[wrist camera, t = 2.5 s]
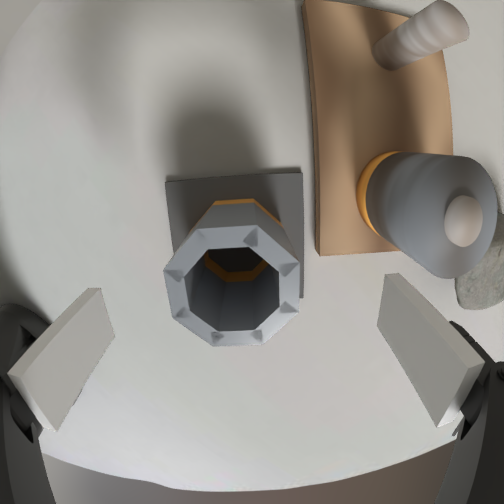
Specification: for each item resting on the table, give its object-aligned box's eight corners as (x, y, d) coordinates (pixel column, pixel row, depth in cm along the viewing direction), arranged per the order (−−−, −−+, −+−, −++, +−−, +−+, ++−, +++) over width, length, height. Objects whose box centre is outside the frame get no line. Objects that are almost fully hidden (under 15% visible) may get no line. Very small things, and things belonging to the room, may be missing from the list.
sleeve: (199, 285, 23) (179, 346, 15) (189, 203, 21) (157, 232, 13) (282, 280, 23) (298, 341, 15) (280, 196, 21) (299, 222, 13)
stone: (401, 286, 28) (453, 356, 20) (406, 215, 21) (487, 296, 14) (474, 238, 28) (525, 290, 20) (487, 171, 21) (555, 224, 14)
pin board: (315, 249, 22) (359, 316, 13) (301, 6, 16) (332, -67, 6) (437, 242, 22) (510, 288, 13) (428, 31, 16) (497, -2, 6)
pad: (183, 302, 24) (182, 304, 23) (166, 182, 20) (165, 182, 20) (302, 295, 24) (303, 298, 23) (301, 172, 20) (302, 173, 20)
